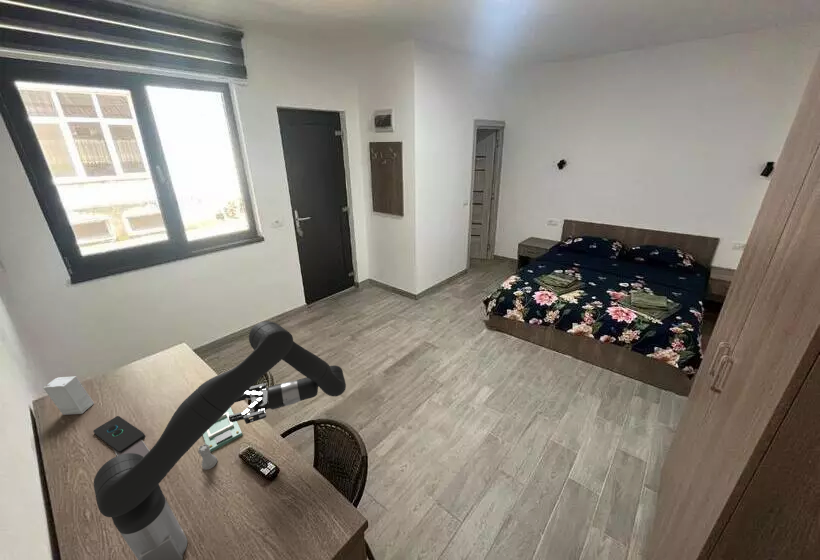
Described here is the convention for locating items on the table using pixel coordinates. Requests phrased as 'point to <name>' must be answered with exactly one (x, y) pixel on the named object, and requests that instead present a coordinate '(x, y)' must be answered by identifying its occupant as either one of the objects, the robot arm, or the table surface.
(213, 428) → the header board
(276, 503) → the table surface
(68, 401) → the skincare box
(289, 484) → the table surface
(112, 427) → the smart home device
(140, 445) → the smartphone
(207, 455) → the rook chess piece
